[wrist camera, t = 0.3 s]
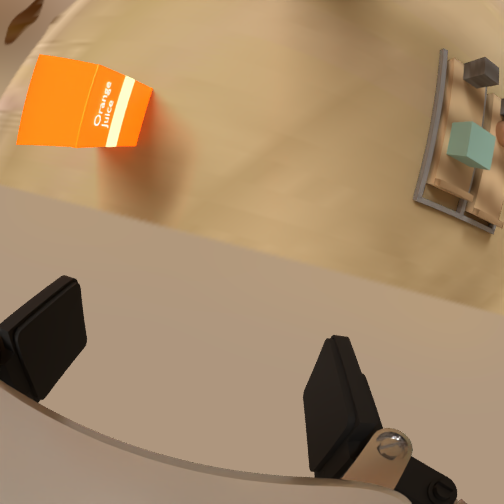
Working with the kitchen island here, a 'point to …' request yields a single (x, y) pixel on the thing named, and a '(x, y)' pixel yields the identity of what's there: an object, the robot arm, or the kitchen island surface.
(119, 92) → the orange juice
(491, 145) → the teal cube
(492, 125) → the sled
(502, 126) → the rounded peach cylinder
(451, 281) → the kitchen island surface
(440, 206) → the lane frame
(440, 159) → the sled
